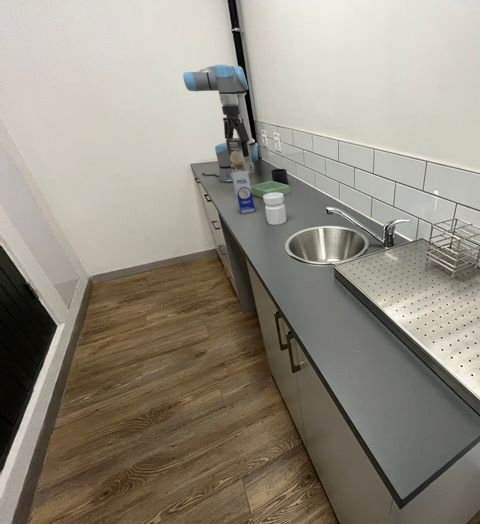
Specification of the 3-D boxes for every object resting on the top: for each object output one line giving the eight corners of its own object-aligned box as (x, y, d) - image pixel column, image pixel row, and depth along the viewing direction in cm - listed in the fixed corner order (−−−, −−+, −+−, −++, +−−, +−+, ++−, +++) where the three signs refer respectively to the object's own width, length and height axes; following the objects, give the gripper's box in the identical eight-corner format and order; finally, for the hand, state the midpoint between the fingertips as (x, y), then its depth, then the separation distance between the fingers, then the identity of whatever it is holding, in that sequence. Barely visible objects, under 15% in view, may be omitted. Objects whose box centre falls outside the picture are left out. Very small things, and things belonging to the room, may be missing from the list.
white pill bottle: (277, 226, 129) (273, 199, 123) (263, 222, 133) (258, 196, 127) (290, 219, 135) (287, 194, 129) (276, 216, 139) (273, 191, 133)
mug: (286, 181, 194) (284, 167, 190) (289, 185, 185) (287, 171, 180) (271, 182, 191) (269, 168, 187) (274, 187, 182) (272, 172, 177)
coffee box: (232, 173, 149) (224, 139, 141) (239, 170, 154) (233, 137, 146) (247, 174, 146) (240, 140, 138) (254, 171, 152) (248, 138, 144)
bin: (250, 193, 171) (248, 186, 169) (272, 187, 181) (271, 180, 179) (268, 199, 161) (266, 191, 159) (290, 193, 171) (289, 185, 169)
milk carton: (240, 214, 142) (231, 172, 132) (238, 210, 148) (229, 169, 138) (255, 211, 145) (247, 170, 135) (252, 207, 150) (245, 167, 140)
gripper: (210, 105, 139) (221, 154, 150) (236, 105, 126) (246, 159, 137) (224, 104, 144) (234, 152, 155) (251, 105, 131) (259, 156, 142)
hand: (240, 155), depth 146 cm, fingers closed on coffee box, 10 cm apart
